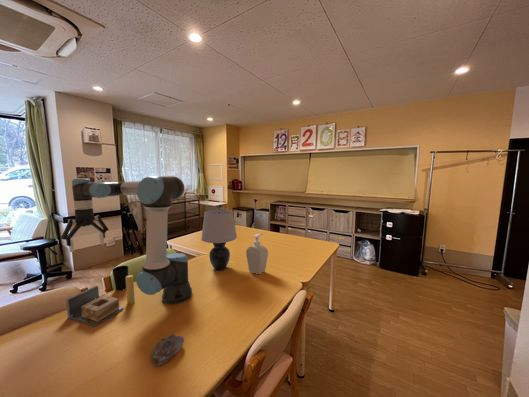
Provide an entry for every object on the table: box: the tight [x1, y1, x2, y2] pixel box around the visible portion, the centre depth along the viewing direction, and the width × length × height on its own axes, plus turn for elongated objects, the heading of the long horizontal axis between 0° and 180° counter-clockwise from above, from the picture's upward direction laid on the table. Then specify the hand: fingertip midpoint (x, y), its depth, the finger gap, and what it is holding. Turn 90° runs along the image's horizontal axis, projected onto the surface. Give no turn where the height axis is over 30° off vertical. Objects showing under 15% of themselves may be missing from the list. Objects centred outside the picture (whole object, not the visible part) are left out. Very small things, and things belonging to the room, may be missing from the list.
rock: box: [150, 333, 185, 367], centre depth 81 cm, size 8×11×5 cm
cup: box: [111, 265, 129, 291], centre depth 126 cm, size 8×8×12 cm
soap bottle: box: [245, 233, 269, 275], centre depth 148 cm, size 12×10×26 cm
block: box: [81, 295, 120, 322], centre depth 102 cm, size 10×10×5 cm
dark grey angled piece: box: [65, 285, 124, 328], centre depth 103 cm, size 18×13×9 cm
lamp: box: [200, 209, 238, 272], centre depth 152 cm, size 24×24×40 cm
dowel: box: [125, 274, 136, 305], centre depth 112 cm, size 3×3×14 cm
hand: (87, 247), depth 117 cm, fingers open, 13 cm apart
